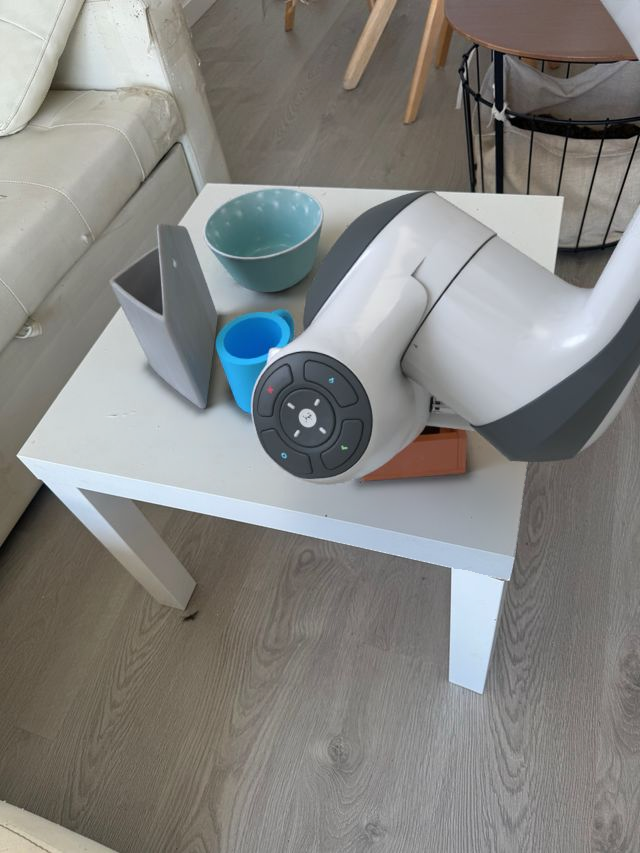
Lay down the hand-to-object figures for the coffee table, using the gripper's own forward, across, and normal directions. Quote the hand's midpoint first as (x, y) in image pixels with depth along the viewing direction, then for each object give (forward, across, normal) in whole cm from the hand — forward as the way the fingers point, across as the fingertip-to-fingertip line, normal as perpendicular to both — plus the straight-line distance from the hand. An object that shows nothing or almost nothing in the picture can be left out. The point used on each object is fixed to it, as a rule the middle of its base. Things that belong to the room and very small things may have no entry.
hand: (402, 389), depth 63 cm
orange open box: (+7, 0, +5) cm, 9 cm away
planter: (+12, +30, 0) cm, 32 cm away
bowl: (+25, +23, -12) cm, 36 cm away
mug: (+11, +17, +1) cm, 20 cm away
